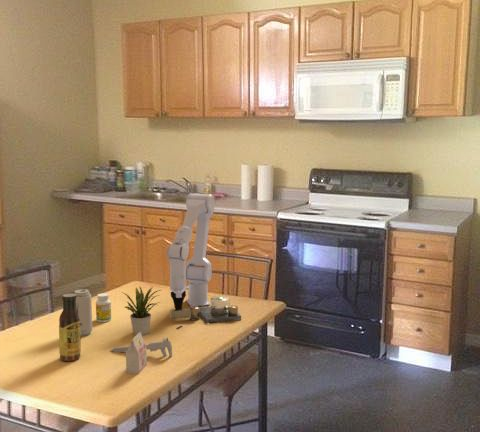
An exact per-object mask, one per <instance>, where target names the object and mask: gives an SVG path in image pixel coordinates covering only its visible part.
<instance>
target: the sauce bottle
mask: <svg viewBox="0 0 480 432" xmlns="http://www.w3.org/2000/svg"><path fill="white" fill-rule="evenodd" d="M61 300H62V305H63V306H62V311H61V313H60V315H59V318H58V319H59V320H58V322H59V323H58V324H59V325H58V337H59V340H58V342H59V343H58V344H59V345H58V346H59V348H58V349H59V351H58V352H59V359H60V360H61V361H62V362H73V361H77V360H78V359H80V357H81V352H82V349H81V347H82V346H81V345H82V344H81V342H82V341H81V338H82V336H81V332H80V319H79V316H78V313H77V310H76V294H74V293H65V294H62V296H61Z"/></svg>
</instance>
